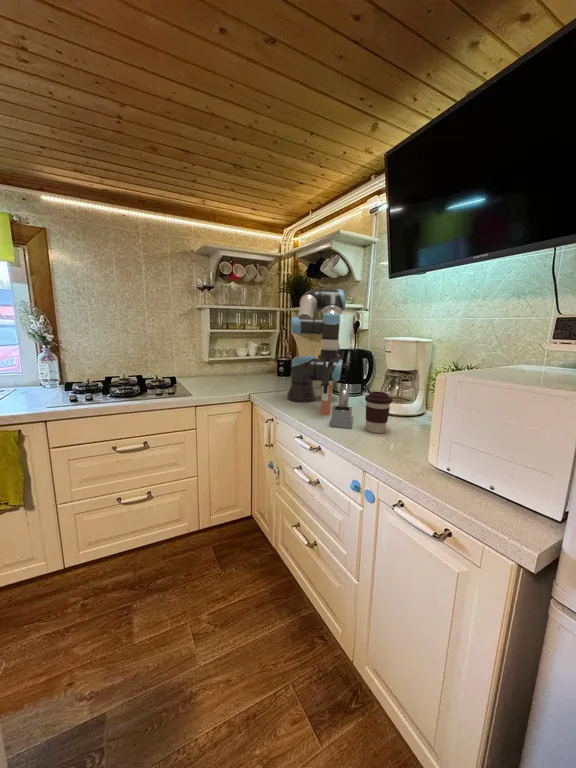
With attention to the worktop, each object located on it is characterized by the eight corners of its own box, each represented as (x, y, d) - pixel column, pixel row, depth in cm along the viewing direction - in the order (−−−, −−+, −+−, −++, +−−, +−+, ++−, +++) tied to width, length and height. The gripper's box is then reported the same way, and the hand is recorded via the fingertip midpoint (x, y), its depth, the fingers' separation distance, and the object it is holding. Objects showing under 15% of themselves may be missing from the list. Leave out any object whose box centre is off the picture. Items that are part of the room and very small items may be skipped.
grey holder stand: (332, 415, 143) (334, 387, 140) (353, 417, 141) (355, 389, 139) (329, 426, 128) (331, 395, 125) (352, 429, 126) (354, 396, 123)
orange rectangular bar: (321, 412, 148) (323, 382, 145) (330, 413, 147) (332, 383, 144) (320, 414, 144) (322, 384, 141) (329, 415, 143) (331, 385, 141)
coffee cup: (393, 430, 125) (396, 393, 123) (381, 436, 118) (385, 397, 115) (370, 424, 132) (373, 389, 129) (357, 430, 125) (360, 392, 122)
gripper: (324, 347, 152) (321, 391, 156) (317, 350, 129) (314, 402, 133) (339, 347, 151) (336, 392, 155) (335, 351, 128) (332, 404, 132)
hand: (326, 397), depth 144 cm, fingers open, 12 cm apart
